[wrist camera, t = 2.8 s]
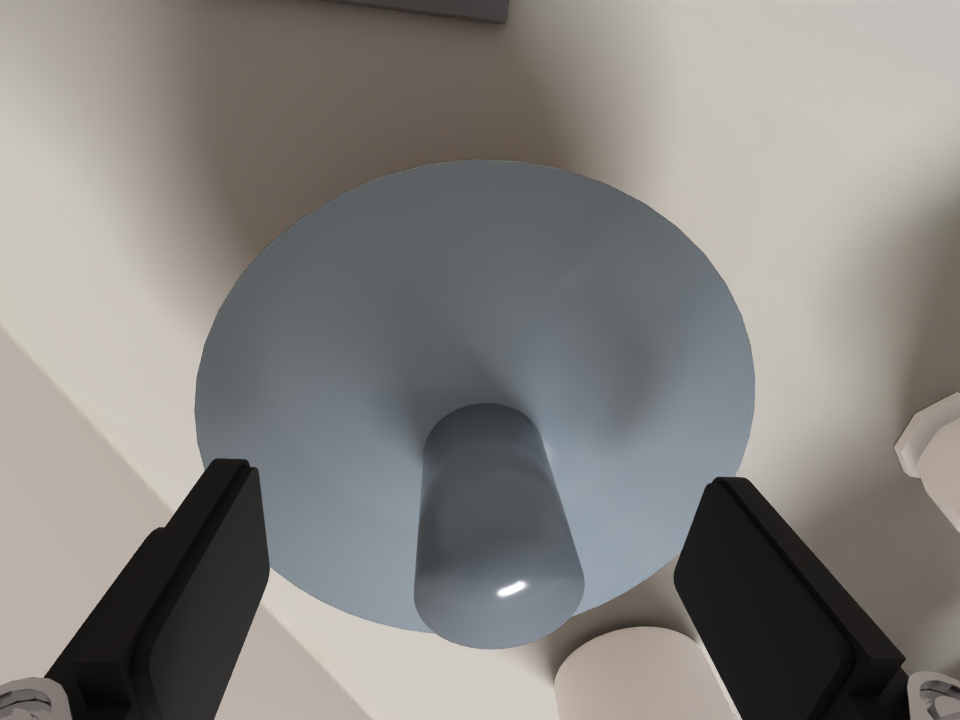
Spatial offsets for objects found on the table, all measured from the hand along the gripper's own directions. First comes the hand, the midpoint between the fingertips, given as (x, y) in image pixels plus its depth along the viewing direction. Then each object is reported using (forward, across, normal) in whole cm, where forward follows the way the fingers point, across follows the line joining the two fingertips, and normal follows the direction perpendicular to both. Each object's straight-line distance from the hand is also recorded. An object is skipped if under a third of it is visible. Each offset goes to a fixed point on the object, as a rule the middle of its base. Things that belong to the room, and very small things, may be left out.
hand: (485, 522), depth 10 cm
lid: (+3, 0, 0) cm, 3 cm away
